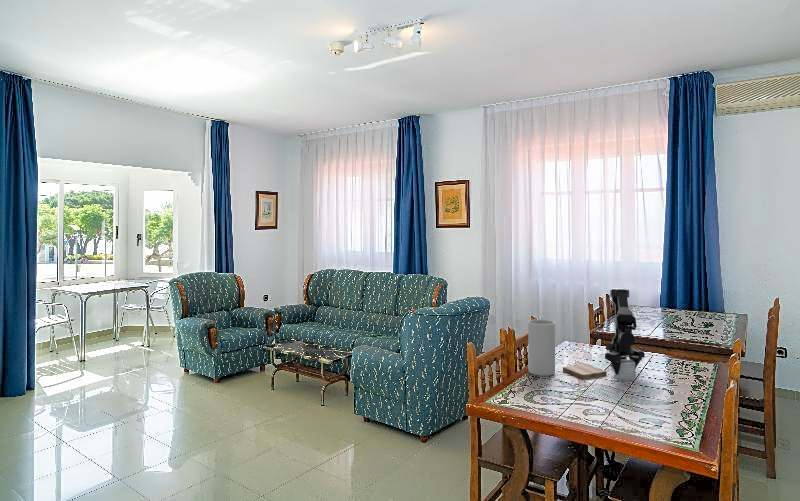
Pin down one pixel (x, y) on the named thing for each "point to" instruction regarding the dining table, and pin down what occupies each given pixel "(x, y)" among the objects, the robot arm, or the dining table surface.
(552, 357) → the cylinder vase
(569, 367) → the walnut block
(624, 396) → the dining table surface
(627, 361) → the medicine box
